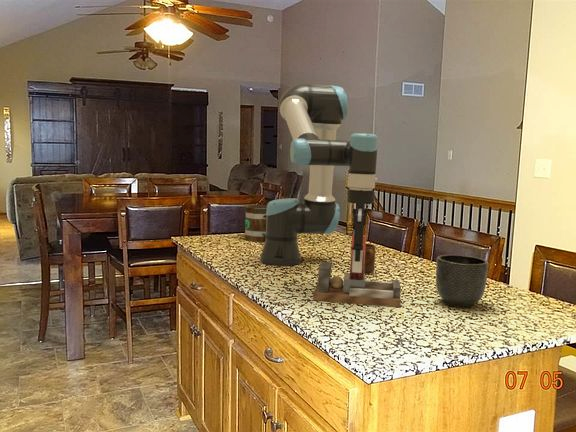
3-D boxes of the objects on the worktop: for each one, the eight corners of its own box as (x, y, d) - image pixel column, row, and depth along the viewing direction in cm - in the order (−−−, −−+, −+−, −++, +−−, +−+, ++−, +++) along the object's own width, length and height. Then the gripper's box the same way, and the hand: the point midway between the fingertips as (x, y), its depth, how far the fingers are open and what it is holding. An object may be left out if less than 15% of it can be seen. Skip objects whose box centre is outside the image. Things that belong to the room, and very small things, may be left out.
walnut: (327, 290, 156) (326, 276, 155) (336, 287, 159) (335, 273, 158) (337, 292, 153) (336, 278, 152) (346, 289, 156) (345, 275, 155)
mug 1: (238, 237, 248) (239, 205, 246) (264, 236, 255) (266, 204, 253) (257, 245, 231) (258, 210, 229) (284, 243, 238) (286, 210, 236)
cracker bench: (313, 300, 151) (314, 268, 150) (317, 289, 163) (318, 260, 162) (399, 307, 148) (402, 275, 146) (397, 295, 159) (399, 265, 158)
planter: (478, 314, 144) (482, 267, 142) (427, 304, 151) (430, 259, 149) (489, 302, 156) (493, 258, 154) (441, 294, 163) (444, 252, 161)
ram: (343, 292, 152) (346, 237, 150) (344, 286, 159) (347, 232, 157) (364, 294, 151) (367, 238, 149) (364, 287, 158) (367, 234, 156)
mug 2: (382, 276, 182) (384, 249, 181) (361, 277, 181) (362, 249, 179) (369, 268, 194) (371, 243, 193) (349, 269, 192) (350, 243, 191)
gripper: (375, 192, 142) (370, 278, 145) (374, 187, 159) (370, 265, 162) (346, 190, 143) (342, 276, 146) (349, 186, 160) (345, 263, 163)
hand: (356, 270), depth 154 cm, fingers closed on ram, 4 cm apart
